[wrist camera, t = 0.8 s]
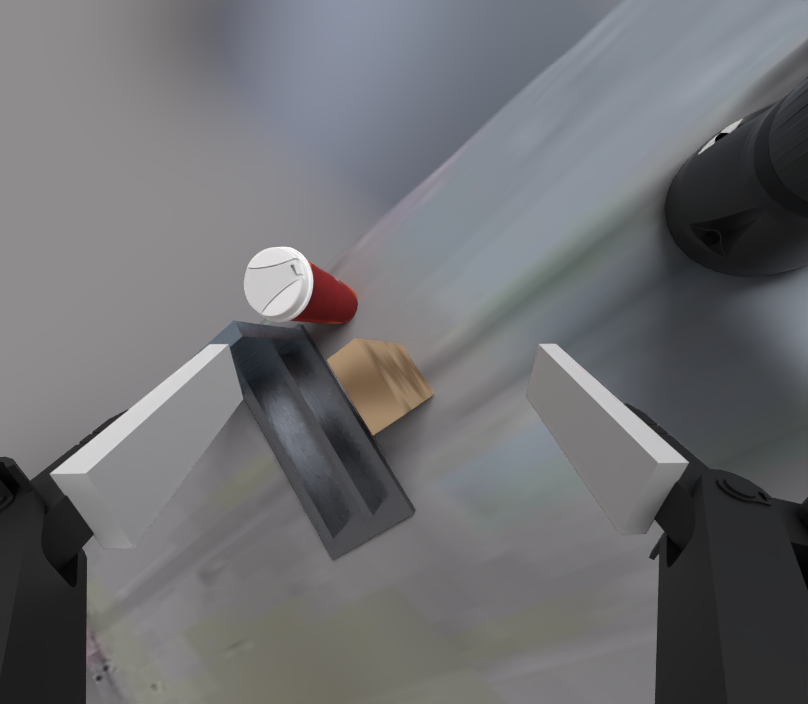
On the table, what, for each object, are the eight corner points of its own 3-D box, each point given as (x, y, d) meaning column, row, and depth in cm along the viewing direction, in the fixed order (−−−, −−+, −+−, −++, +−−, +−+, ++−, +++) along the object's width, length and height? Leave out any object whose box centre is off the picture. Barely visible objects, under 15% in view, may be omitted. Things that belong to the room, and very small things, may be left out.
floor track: (415, 510, 40) (380, 581, 27) (336, 555, 43) (272, 637, 30) (302, 324, 45) (229, 313, 32) (238, 377, 48) (149, 385, 35)
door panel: (434, 394, 39) (404, 414, 26) (412, 408, 40) (372, 435, 27) (400, 343, 41) (355, 337, 27) (380, 358, 41) (326, 360, 28)
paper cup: (354, 268, 42) (291, 228, 29) (372, 319, 42) (315, 302, 28) (308, 291, 45) (229, 263, 31) (324, 339, 44) (250, 333, 30)
